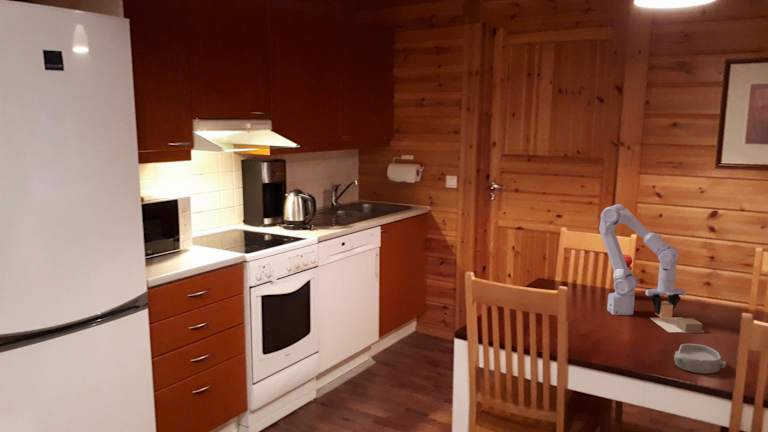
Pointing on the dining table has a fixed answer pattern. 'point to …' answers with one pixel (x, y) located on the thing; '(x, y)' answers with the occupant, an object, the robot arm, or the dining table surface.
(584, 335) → the dining table surface
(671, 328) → the board
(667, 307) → the terracotta block
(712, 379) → the dining table surface
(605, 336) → the dining table surface
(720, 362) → the dish
